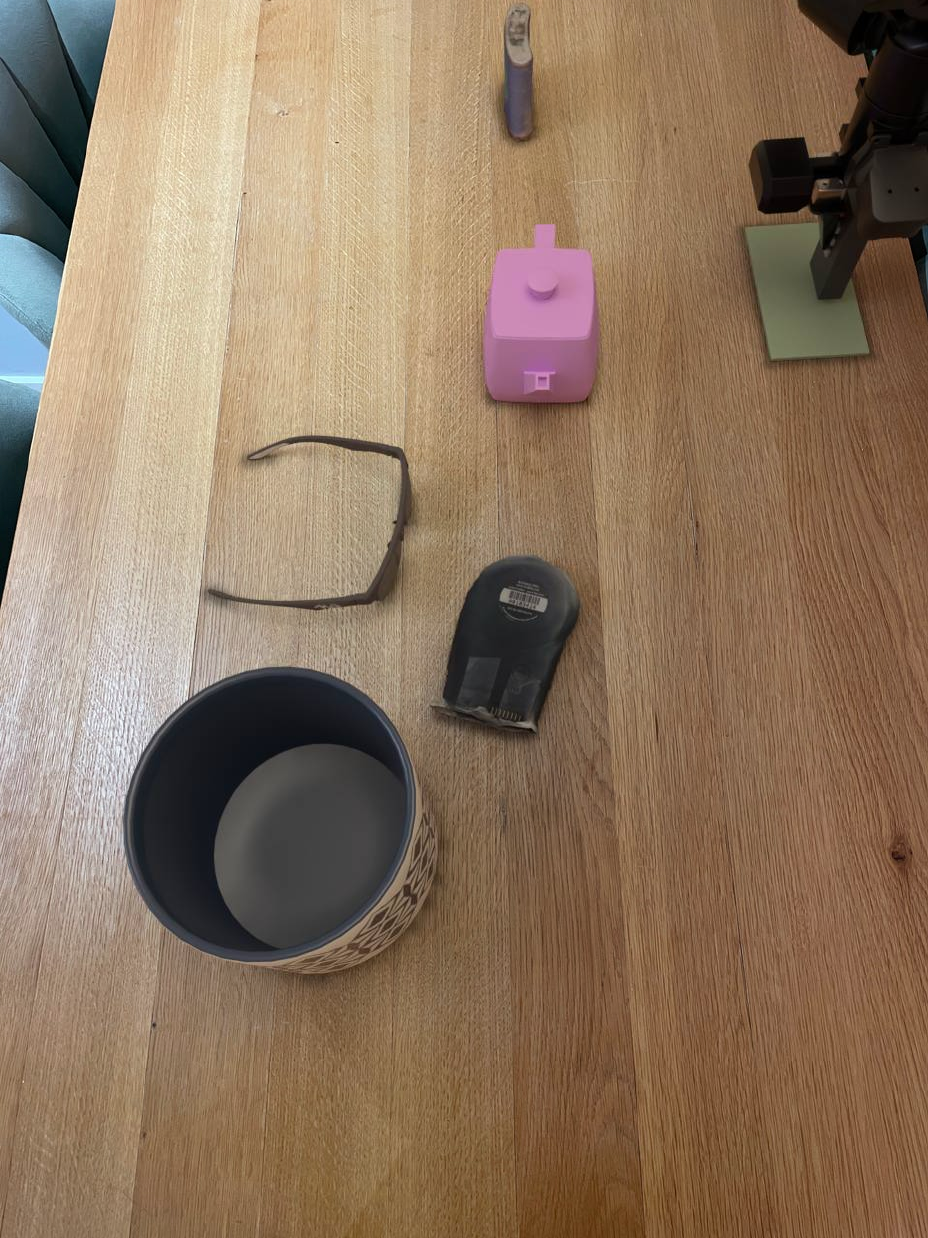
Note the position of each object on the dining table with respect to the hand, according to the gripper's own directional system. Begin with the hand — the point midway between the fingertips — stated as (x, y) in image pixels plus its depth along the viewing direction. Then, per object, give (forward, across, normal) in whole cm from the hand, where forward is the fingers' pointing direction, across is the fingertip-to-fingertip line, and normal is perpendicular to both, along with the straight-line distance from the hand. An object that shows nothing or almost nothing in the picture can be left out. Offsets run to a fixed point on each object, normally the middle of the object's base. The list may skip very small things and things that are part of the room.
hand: (838, 245), depth 85 cm
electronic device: (+6, -31, -35) cm, 47 cm away
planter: (+6, -47, -51) cm, 69 cm away
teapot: (+6, -27, -6) cm, 28 cm away
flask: (+6, -28, +27) cm, 39 cm away
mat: (+6, -2, 0) cm, 6 cm away
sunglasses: (+6, -48, -24) cm, 54 cm away
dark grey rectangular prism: (+4, 0, 0) cm, 5 cm away
